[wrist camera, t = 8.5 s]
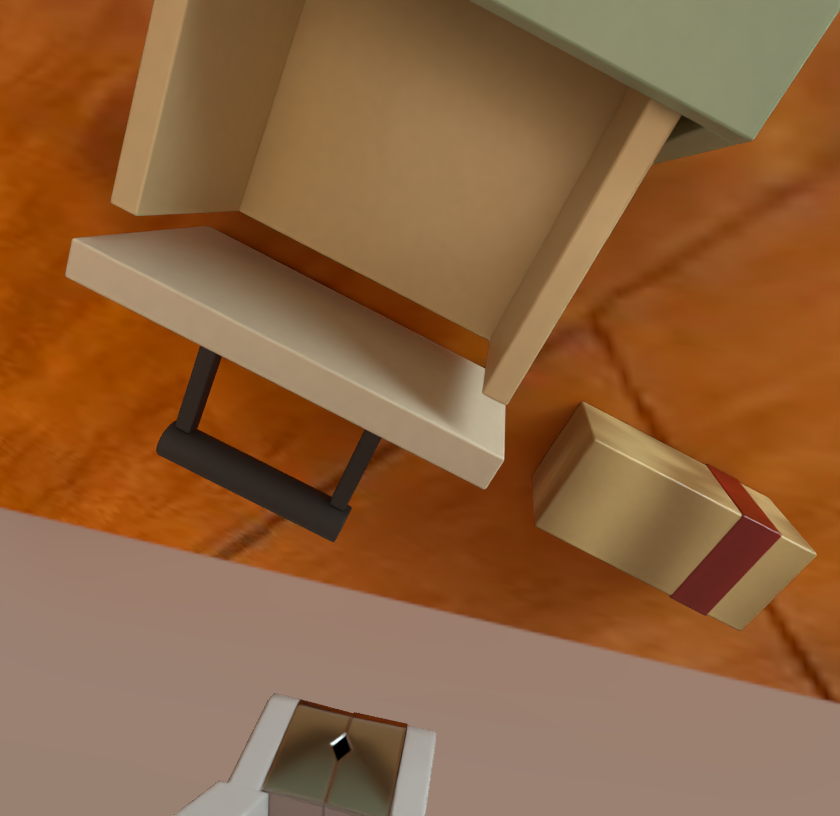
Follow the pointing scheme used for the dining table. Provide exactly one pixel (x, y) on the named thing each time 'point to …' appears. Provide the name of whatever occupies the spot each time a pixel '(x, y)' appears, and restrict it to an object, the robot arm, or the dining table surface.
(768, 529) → the tan and red block
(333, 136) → the drawer
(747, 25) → the cabinet
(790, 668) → the dining table surface
